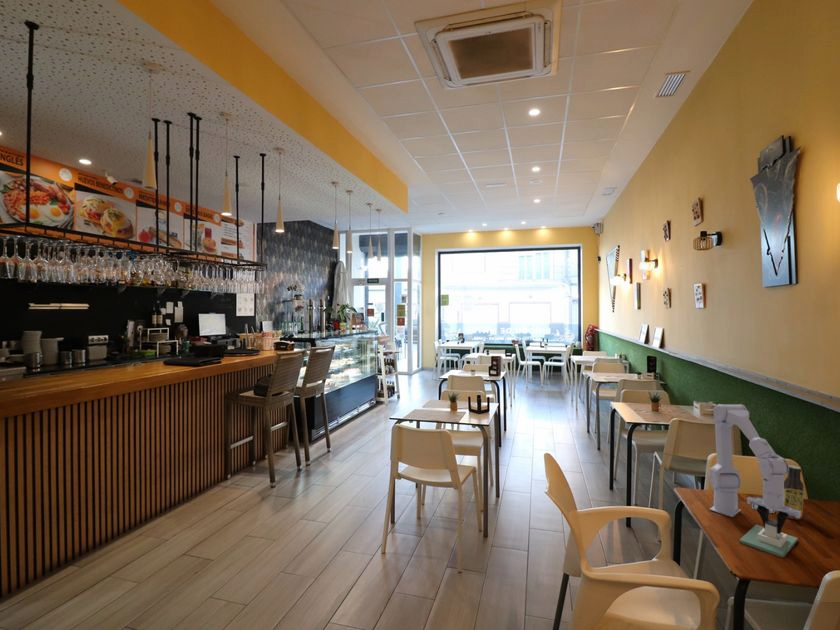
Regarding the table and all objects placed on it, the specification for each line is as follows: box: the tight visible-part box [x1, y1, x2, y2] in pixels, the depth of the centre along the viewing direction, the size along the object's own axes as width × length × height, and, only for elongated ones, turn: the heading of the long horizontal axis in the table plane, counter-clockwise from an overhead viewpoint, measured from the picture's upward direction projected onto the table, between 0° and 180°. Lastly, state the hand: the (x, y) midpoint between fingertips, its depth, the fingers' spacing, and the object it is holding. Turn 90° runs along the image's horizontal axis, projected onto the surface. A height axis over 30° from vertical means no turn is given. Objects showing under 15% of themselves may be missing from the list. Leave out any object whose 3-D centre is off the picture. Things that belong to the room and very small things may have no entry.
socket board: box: [739, 524, 799, 559], centre depth 153 cm, size 18×12×3 cm, turn 128°
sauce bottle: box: [784, 464, 805, 521], centre depth 171 cm, size 7×6×20 cm
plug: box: [765, 517, 779, 540], centre depth 152 cm, size 4×3×6 cm
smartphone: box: [751, 496, 776, 515], centre depth 182 cm, size 7×1×15 cm
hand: (772, 530), depth 152 cm, fingers closed on plug, 3 cm apart
